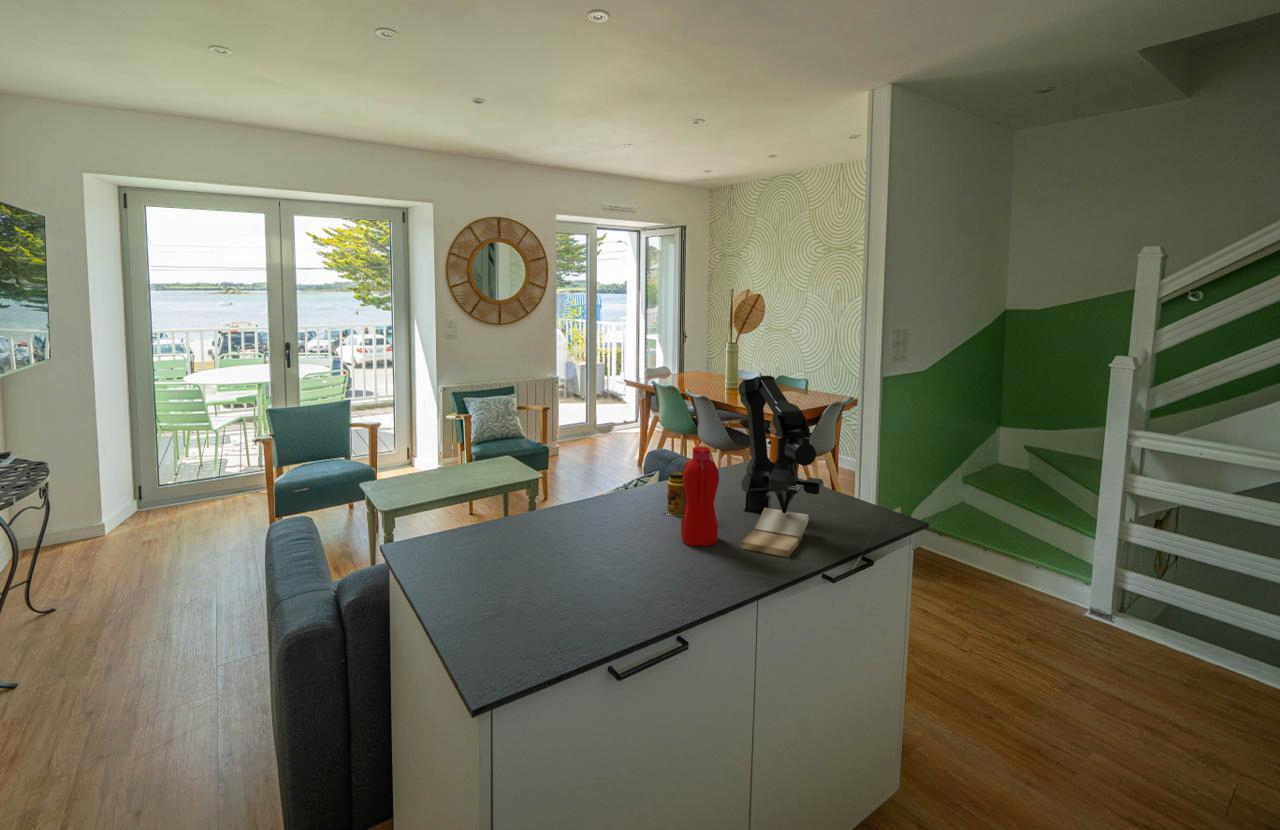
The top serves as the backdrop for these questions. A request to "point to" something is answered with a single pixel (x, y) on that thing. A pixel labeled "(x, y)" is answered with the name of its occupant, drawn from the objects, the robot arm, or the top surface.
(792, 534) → the plank
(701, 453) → the water bottle
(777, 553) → the floor board
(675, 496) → the condiment
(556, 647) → the top surface
